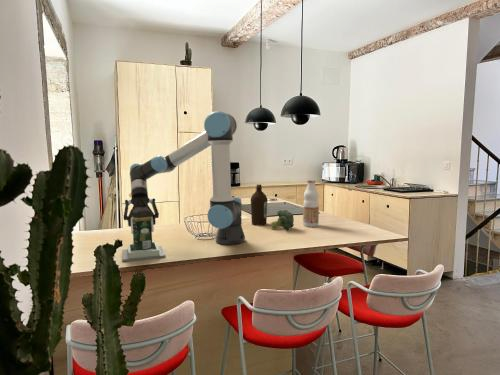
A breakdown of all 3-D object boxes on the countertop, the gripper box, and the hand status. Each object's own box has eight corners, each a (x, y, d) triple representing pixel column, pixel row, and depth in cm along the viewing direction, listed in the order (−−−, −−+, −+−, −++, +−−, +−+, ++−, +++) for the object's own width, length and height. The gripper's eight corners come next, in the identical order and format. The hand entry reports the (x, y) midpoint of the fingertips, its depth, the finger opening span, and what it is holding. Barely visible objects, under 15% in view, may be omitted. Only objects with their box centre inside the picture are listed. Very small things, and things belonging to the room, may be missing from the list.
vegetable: (271, 222, 220) (293, 212, 218) (277, 239, 213) (300, 229, 210) (264, 213, 211) (287, 203, 208) (270, 231, 203) (293, 220, 200)
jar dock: (161, 247, 173) (161, 240, 173) (165, 257, 158) (165, 249, 158) (122, 251, 167) (122, 244, 167) (122, 262, 152) (122, 254, 152)
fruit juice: (302, 227, 216) (303, 181, 213) (303, 223, 226) (303, 179, 222) (318, 227, 215) (319, 181, 212) (318, 224, 224) (319, 179, 221)
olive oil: (249, 225, 221) (249, 185, 219) (252, 221, 232) (252, 183, 229) (266, 226, 220) (266, 185, 217) (268, 222, 230) (268, 184, 227)
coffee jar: (131, 246, 165) (130, 207, 162) (149, 244, 168) (147, 205, 166) (136, 252, 156) (134, 210, 154) (154, 249, 160) (152, 208, 158)
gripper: (161, 194, 178) (166, 233, 164) (116, 196, 171) (117, 237, 157) (161, 185, 172) (167, 224, 159) (115, 187, 165) (117, 228, 152)
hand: (142, 231), depth 158 cm, fingers closed on coffee jar, 8 cm apart
